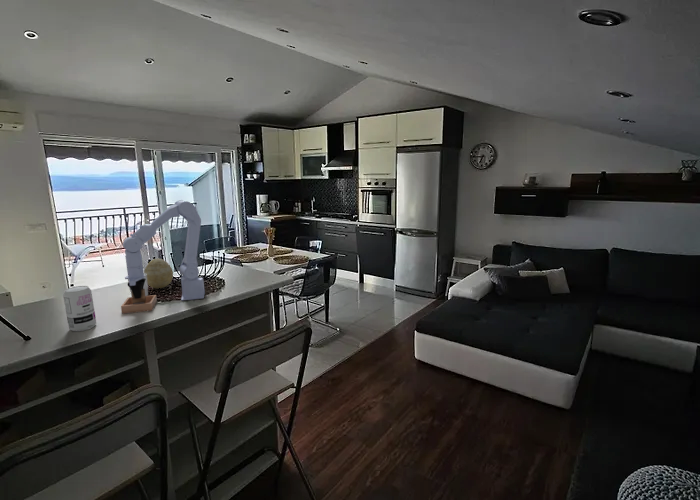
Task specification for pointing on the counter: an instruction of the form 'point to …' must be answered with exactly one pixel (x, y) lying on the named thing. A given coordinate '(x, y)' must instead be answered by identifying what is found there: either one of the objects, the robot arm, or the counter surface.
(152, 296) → the shallow square frame box
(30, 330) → the counter surface
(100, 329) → the counter surface
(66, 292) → the supplement can
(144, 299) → the tall brown plank
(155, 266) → the fossilized egg
